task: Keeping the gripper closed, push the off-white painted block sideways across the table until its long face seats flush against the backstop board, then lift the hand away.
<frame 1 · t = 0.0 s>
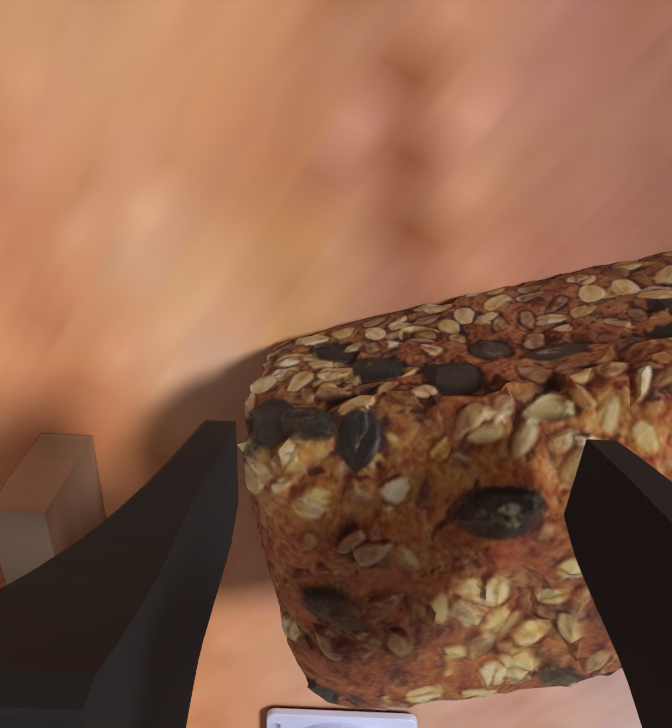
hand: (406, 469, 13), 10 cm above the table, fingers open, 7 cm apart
bread: (527, 388, 24), on the table
board: (102, 620, 30), on the table
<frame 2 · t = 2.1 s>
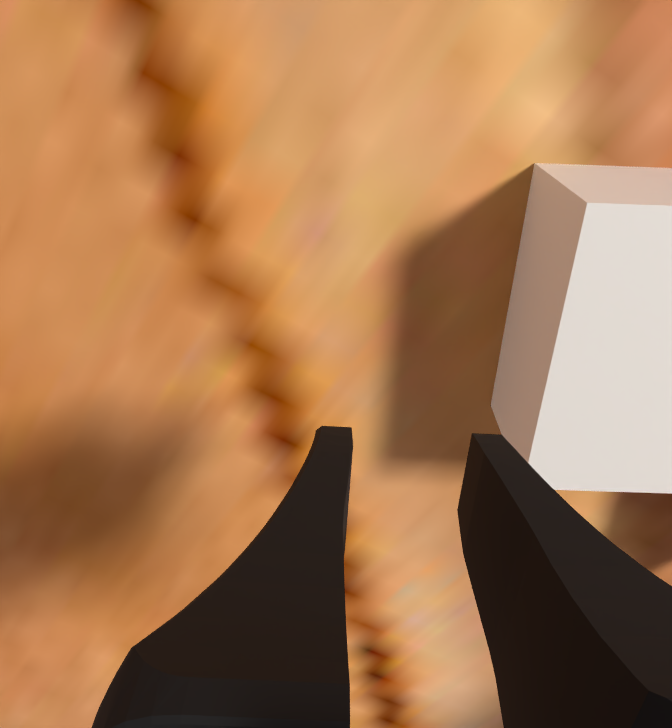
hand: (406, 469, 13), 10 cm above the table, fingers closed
block: (580, 297, 22), on the table
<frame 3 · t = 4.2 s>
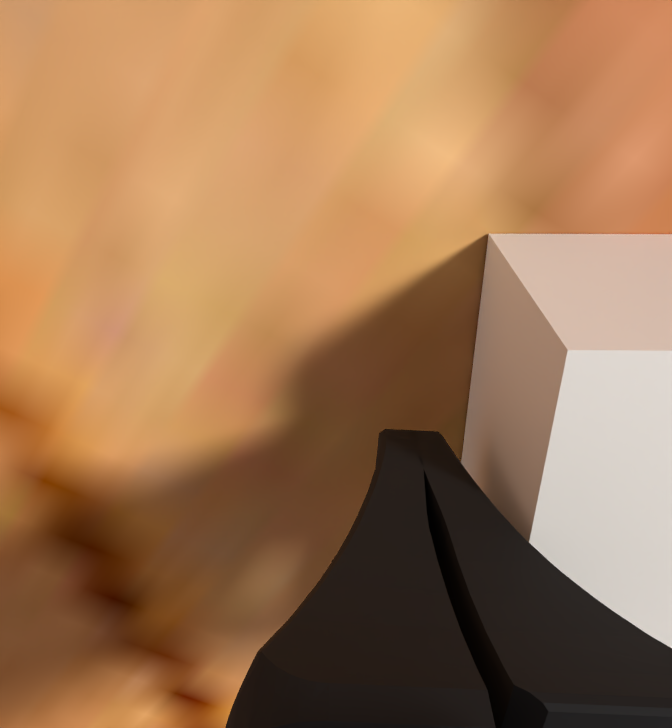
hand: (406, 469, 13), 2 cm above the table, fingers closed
block: (573, 422, 15), on the table, touching gripper
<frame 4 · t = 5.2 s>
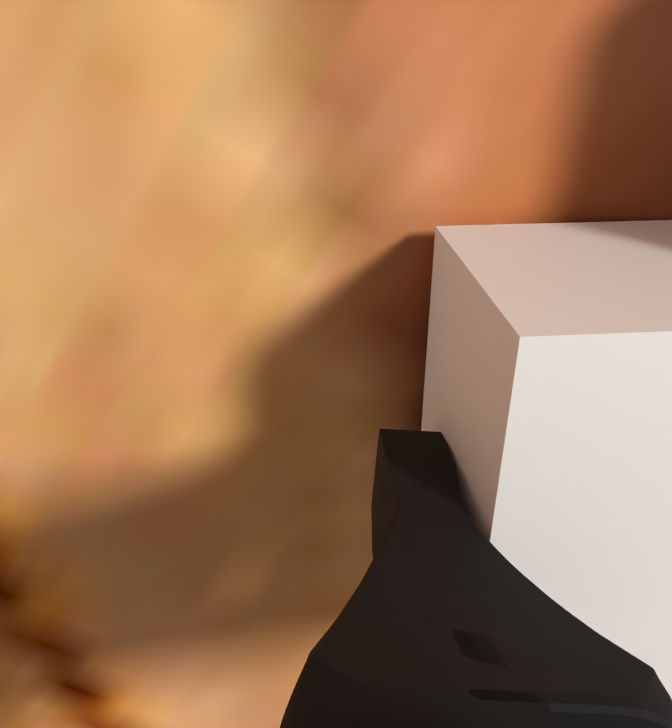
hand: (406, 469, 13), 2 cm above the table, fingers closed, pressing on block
block: (528, 414, 14), on the table, tilted 6°, touching board, gripper
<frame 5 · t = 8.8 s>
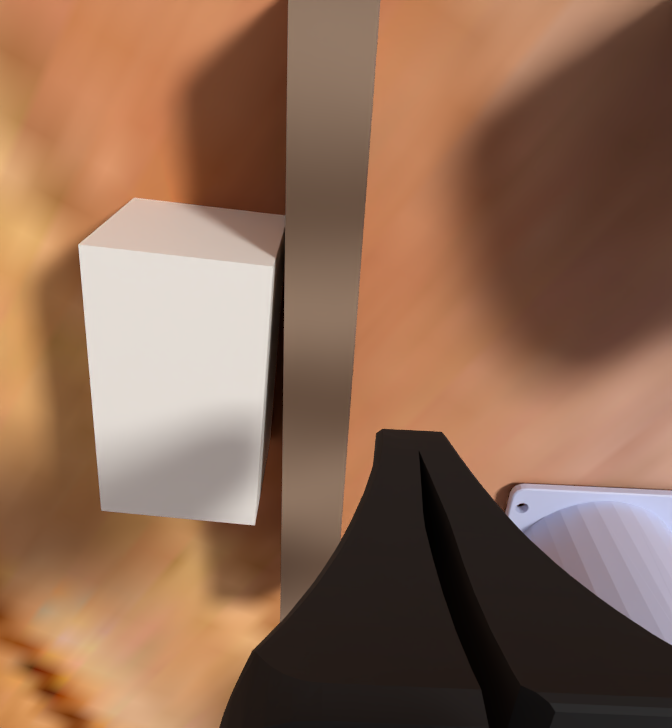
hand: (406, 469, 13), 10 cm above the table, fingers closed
board: (321, 337, 23), on the table
block: (210, 328, 23), on the table
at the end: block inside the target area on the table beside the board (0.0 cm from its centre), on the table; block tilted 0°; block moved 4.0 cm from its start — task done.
